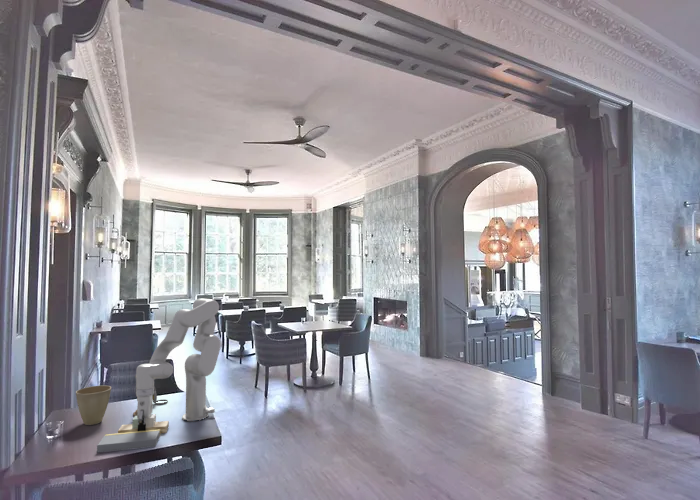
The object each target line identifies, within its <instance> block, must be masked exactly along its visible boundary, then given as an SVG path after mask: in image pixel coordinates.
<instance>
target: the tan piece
mask: <svg viewBox="0 0 700 500" xmlns="http://www.w3.org/2000/svg"><path fill="white" fill-rule="evenodd" d="M168 427H170V420H163V421H161V420H160V421H156V423H155V425H154V427H146V431H148V430H159V429H160V435H161V434H167V433H168V429H169V428H168ZM137 431H138V428H133V429H132V423H128V424H121V426H120V427H119V429H118V430H117V433H127V432H137Z"/></svg>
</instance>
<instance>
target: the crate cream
mask: <svg viewBox="0 0 700 500" xmlns="http://www.w3.org/2000/svg"><path fill="white" fill-rule="evenodd" d="M156 422H157V414H155V413H152V414H151V415H150V417H149V418H146V421H145V424H146V427H154V425H155V423H156Z"/></svg>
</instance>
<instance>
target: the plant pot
mask: <svg viewBox="0 0 700 500" xmlns="http://www.w3.org/2000/svg"><path fill="white" fill-rule="evenodd" d="M111 392H112V386H110V385H93V386H86V387H83V388H80V389H78V390H76V391H75V397H76V403H77V408H78V411H79V415H80V417H81V420H82V422H83V424H84V425H85V426H92V425H96V424H99V423H101V422H102V421H103V419H104V416H105V415H106V411H107V407H108V405H109V401H110V398H111V397H110V396H111Z"/></svg>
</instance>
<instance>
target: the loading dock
mask: <svg viewBox="0 0 700 500" xmlns="http://www.w3.org/2000/svg"><path fill="white" fill-rule="evenodd" d="M160 437H161V434H160V429H159V430H148V431H137V432H127V433H118V432H117V433H109V434H108V433H107V434H104V436H103V437H102V438H101V440H100V441H99V443H98V444H97V445H96V453H105V452H106V453H108V452H116V451H118V452H119V451H126V450H135V449H137V450H138V449H147V448H155V447H156V445H157V444H158V442H159V440H160Z"/></svg>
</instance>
